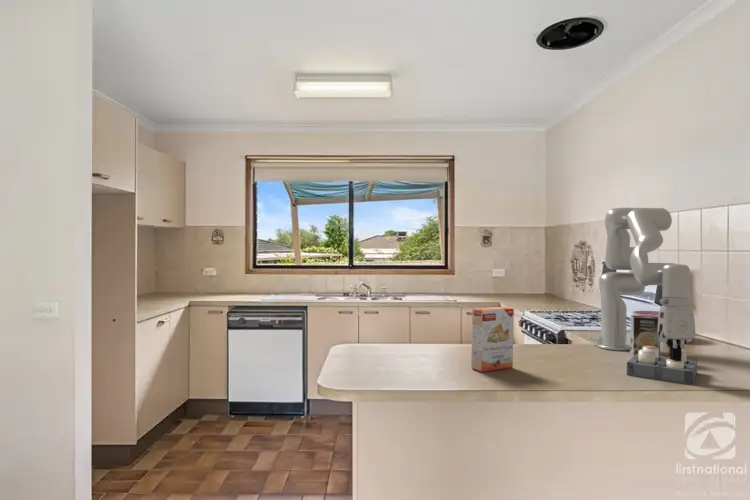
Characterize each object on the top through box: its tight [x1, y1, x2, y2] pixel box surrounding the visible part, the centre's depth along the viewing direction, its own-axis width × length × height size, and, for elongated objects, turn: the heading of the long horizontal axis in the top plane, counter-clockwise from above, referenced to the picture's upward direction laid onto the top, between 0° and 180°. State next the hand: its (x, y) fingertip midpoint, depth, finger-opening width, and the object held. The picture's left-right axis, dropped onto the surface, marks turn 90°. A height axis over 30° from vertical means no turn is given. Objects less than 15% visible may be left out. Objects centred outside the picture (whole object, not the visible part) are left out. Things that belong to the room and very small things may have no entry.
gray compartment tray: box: [626, 354, 698, 385], centre depth 160 cm, size 18×18×4 cm
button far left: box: [643, 346, 659, 361], centre depth 166 cm, size 5×5×5 cm
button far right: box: [669, 349, 687, 364], centre depth 161 cm, size 5×5×5 cm
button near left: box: [638, 349, 655, 365], centre depth 159 cm, size 5×5×5 cm
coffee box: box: [629, 314, 661, 359], centre depth 181 cm, size 9×6×16 cm
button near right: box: [666, 359, 684, 369], centre depth 154 cm, size 5×5×5 cm
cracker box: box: [471, 306, 515, 373], centre depth 166 cm, size 14×6×21 cm, turn 117°
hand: (675, 360), depth 154 cm, fingers closed
